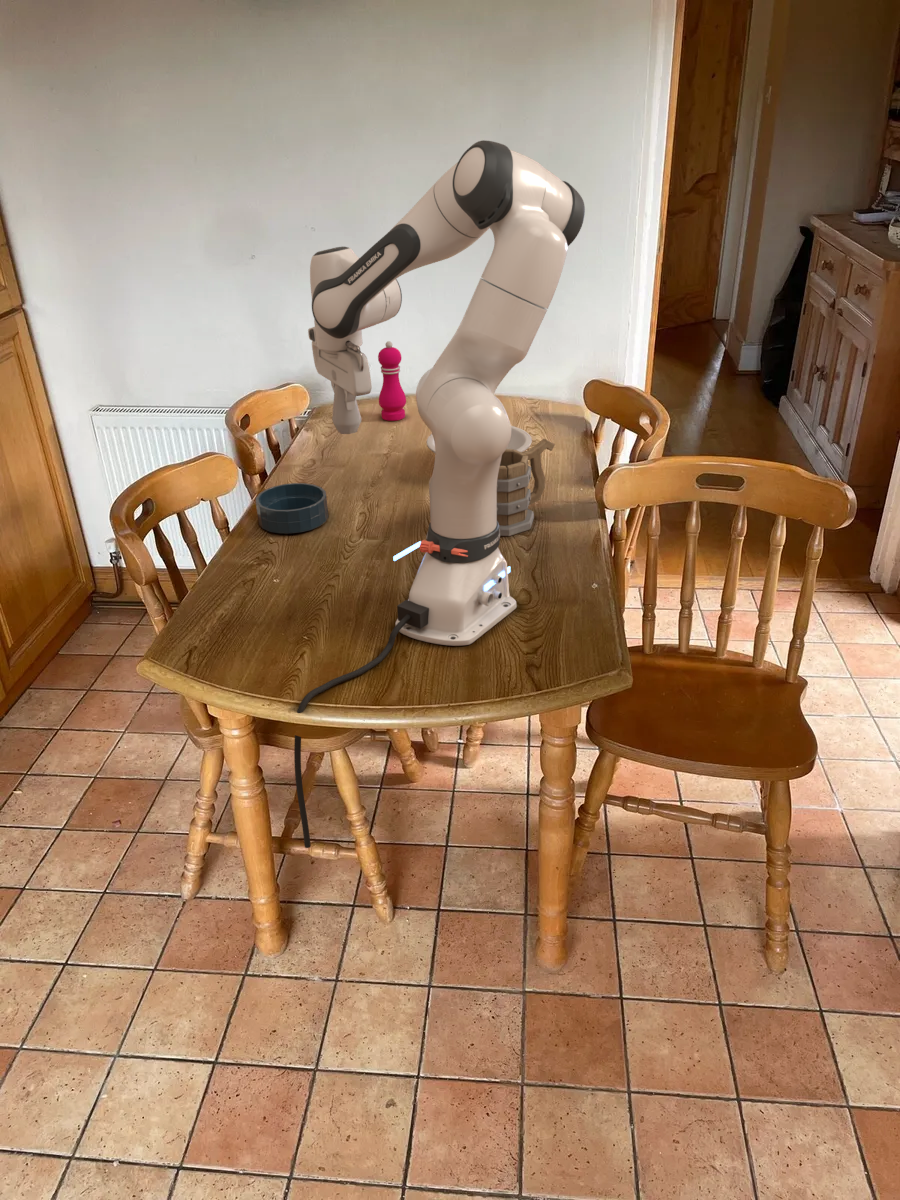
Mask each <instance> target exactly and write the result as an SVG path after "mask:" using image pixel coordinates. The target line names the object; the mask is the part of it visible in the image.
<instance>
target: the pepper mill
mask: <svg viewBox="0 0 900 1200" xmlns="http://www.w3.org/2000/svg"><path fill="white" fill-rule="evenodd" d="M384 344H385V347H384V348H382V349H380V350H379V352H378V355H377V359H378V363H379V364H380V373H381V374H382V386H381V389H380V392H379V395H378V405H379V406H380V408H381V409H382V410H381V419H382V420H384V421H388V422H389V421H390V422H395V421H400V420H404V419H405V418H406V409H404V408H405V406H406V405H407V395H406V394H405V391H404V389H403V388H402V385H401V382H400V372H401V366H400V363H401V362H402V352H401V351H400V350H399V349H398V348H396V347H394V346H393V342H391V341H389V340H388V341H386V342H385V343H384Z"/></svg>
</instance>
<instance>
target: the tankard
mask: <svg viewBox="0 0 900 1200" xmlns="http://www.w3.org/2000/svg"><path fill="white" fill-rule="evenodd" d="M555 445H556V443H555V442H553V441H550V440H549V439H546V438H542V439H541V440H540V441H539V442H537V444H535V445H534V446H532V447H531V448H530V449H529V450H525V451H523V452H519V451H517V450H514V449H506V450H505V451H504V453H503V454H502V458H501V462H500V467H499V472H498V478H497V521H498V523H499V529H500V537H511V536H514V535H517V534H520V533H523V532H527V531H530V530H531V528H532V526H533V522H534V518H535V512H534V511H533V510H531V509H529V506H530V505H532V504H535V503H537V502H538V501H541V499H542V496H543V493H544V491H545V489H546V476H545V473H544V469H543V467H542V454H543V452H544V451H546V450H548V451H550V452H552V451H553V449H554V447H555ZM529 463H530V465H529ZM532 477H533V480H534V483H533V484H534V485H533V488H532V491H531V489H530V488H529V484H530V482H531V481H530V480H531V478H532Z"/></svg>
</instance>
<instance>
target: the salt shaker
mask: <svg viewBox="0 0 900 1200" xmlns="http://www.w3.org/2000/svg"><path fill="white" fill-rule="evenodd" d="M331 374H332V378H333V380H335V381H336V372H335V371H334V370H332V373H331ZM345 396H346V394H345V393H344V389H343V388H341V387H339V386H338V385H336V384H335V391H333V405H332V417H331V418H332V423H333V425H334V427H335V429H336V431H337V432H338V433H339V434H340V435H353V434H355V433H357V432H358V431H359V428H360V425H361V423H362V416H361V413H360V407H359V405H358V401H357V398H356V399H355V409H354V410H347V409H346V407H345Z"/></svg>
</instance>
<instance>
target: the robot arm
mask: <svg viewBox="0 0 900 1200" xmlns="http://www.w3.org/2000/svg"><path fill="white" fill-rule="evenodd" d="M585 214H586V207H585V202H584V199H583V197H582V195H581V194H580V193H579V192H578V191H577V189H575V187H574V186H572V185H571V184H570V183H569V182H568V181H566V180H562V179H561V178H559V177H558V176H557V175H555V174H554V173H553V172H551V171H549V170H548V169H547V168H546V167H544V166H543V165H542V164H541V163H540V162H538V161H537V160H534V159H532V158H530V157H529V156H527V155H524V154H522V153H520V152H518V151H515V150H512V149H510V148H509V147H508V146H507V145H506V144H503V143H500V142H496V141H492V140H485V139H484V140H483V139H482V140H478V141H477V142H474V143H473V144H472V145H470V147H468V148H467V149H466V150H465V151H464V152H463V154H462V155H461V156H460V158H459V159H458V161H457V162H456V163H455V164H453V165H452V166H451V167H450V168H449V169H448V170H447V171H446V172H444V173H443V174H442V175H441V177H439V178H438V179H437V181H435V183H433V185H432V186H431V187H430V188H429V189H428V190H427V191H426V192H425V194H423V195H422V196H421V198H420V199H419V200H418V201H417V202H416V203H415V204H414V205H413V206H412V208H410V210H409V211H407V213H406V214H405V215H404V216H403V217H402V218H401V219H400V220H398V221H397V222H396V224H395V225H394V226H392V228H391V229H390V230H389V231H388V232H387V233H386V234H385V235H383V236H382V237H381V238H380V239H379V240H378V241H377V242H376V243H374V244H373V245H372V246H371V247H370V248H369V249H368V250H367V251H365V252H364V254H362V255H361V256H360V257H359V256H358V255H357V254H356V253H355V252H354V250H353V249H352V248H351V247H348V246H337V247H332V248H328V249H323V250H319V251H316V252H315V253H314V254H313V255H312V257H311V259H310V265H309V283H310V295H311V296H310V297H311V312H312V317H313V322H314V326H312V327H309V328H308V330H307V331H308V332H307V334H308V335H307V336H308V339H309V340H310V341H311V350H312V357H313V363H314V367H315V370H316V372H317V374H319V375H320V376H322V377H323V378H325V379H327V380H328V381H330V386H331V388H332V391H333V392H334V391H335V384H336V385H338V386H339V387H341V388H343V389H344V393H345V394H346V396H345V407H346V409H347V410H354V409H355V399H356V400H357V397H361V396H365V395H370V394H371V392H372V388H373V387H372V379H371V370H370V365H369V360H368V357H367V355H366V354H365V353H364V352H362V351H361V346H362V345H363V330H365V329H368V328H372V327H374V326H376V325H379V324H381V323H385V322H387V321H389V320H391V319H393V318H395V317H396V316H397V315H398V313H399V312H400V309H401V307H402V302H403V293H402V288H401V285H400V283H399V281H398V278H399V277H401V276H402V275H404V274H407V273H409V272H411V271H414V270H416V269H420V268H422V267H425V266H428V265H431V264H432V265H433V264H435V263H438V262H442V261H445V260H447V259H450V258H453V257H455V256H456V255H458V254H460V253H462V252H463V251H465V250H467V248H469V247H471V246H472V245H474V243H476V242H477V241H478V240H480V238H482V237H483V235H484V234H486V233H487V231H489V229H490V230H491V232H492V234H493V240H494V241H493V242H494V244H493V249H492V251H491V252H492V253H491V254H490V257H489V258H488V261H487V263H486V265H485V267H484V269H483V271H482V274H481V276H480V278H479V280H478V283H477V285H476V288H475V289H474V292H473V294H472V297H471V298H470V301H469V304H468V306H467V308H466V311H465V312H464V315H463V317H462V319H461V322H460V324H459V325H458V327H457V329H456V330H455V332H454V334H453V336H452V337H451V339H450V341H449V342H448V343H447V345H446V346H445V348H444V350H443V351H442V352H441V354H440V355H439V357H438V359H437V360H436V361H435V363H434V365H433V366H432V367H431V368H430V369H428V370H426V372H425V373H424V374H422V376H421V377H420V379H419V380H418V382H417V385H416V390H415V401H416V407H417V412H418V414H419V416H420V418H421V420H422V421H423V423H424V425H426V427H427V428H428V429H429V431H430V432H431V434H432V435H433V438H434V442H435V453H434V463H433V470H432V475H431V477H430V478H429V481H428V495H429V516H430V517H429V518H430V519H429V520H430V522H429V524H428V528H427V532H426V537H425V538H426V539H422V540H420V541H418V542H415V543H414V544H413V545H411V546H409V547H407V548H405V549H404V550H402V551H401V552H399V553H396V555H394V556H393V557H392V558H393V561H394V562H396V561H397V560H399V559H401V558H403V557H405V556H406V555H408V554H409V553H411V552H413V551H414V550H416V549H418V548H419V552H420V553H424V555H423V557H422V559H421V563H420V565H419V567H418V569H417V572H416V574H415V576H414V580H413V582H412V584H411V587H410V590H409V592H408V593H409V594H408V599H405V600H403V601H402V602H400V603H399V604H397V605H396V611H397V619H396V621H395V624H394V627H393V628H392V630H391V632H390V634H389V636H388V641H387V644H386V645H385V647H384V648H383V650H382V651H381V652H380V654H378V656H376V657H375V658H374V659H373V660H371V661H369V662H367V663H366V664H364V665H363V666H361V667H359V668H357V669H355V670H353V671H351V672H347V673H346V674H345V673H344V674H343V675H340V676H338V677H335V678H333V679H331V680H329V681H327V682H325V683H323V684H321V685H320V686H318V687H316V688H313V689H311V690H310V691H309V692H307V694H306V695H305V696H304V697H303V698H302V700H301V701H300V703H299V705H298V707H297V710H296V713H297V714H302V713H304V712H305V710H306V708H307V706H308V705H309V703H310V701H311V700H312V699H313V698H314V697H315V696H318V695H320V694H321V693H323V692H325V691H327V690H329V689H331V688H332V687H335V686H337V685H339V684H341V683H345V682H346V681H349V680H352V679H354V678H356V677H359V676H361V675H363V674H364V673H366V672H368V671H369V670H371V669H373V668H374V667H376V666H377V665H379V664H380V663H381V662H382V661H383V660H384V659H385V658H386V657H387V656H388V655H389V653H390V652H391V650H392V649H393V647H394V644H395V642H396V638H397V635H398V634H399V633H400V634H402V635H404V636H405V637H409V638H412V639H413V640H414V639H415V640H418V641H421V642H425V643H431V644H434V645H441V646H455V647H457V646H458V647H459V646H470V645H471V644H473V643H474V642H475V641H477V640H478V639H480V637H482V636H483V635H484V634H485V633H487V632H488V631H490V630H491V629H492V628H493V627H495V625H497V624H498V623H500V622H501V621H503V619H504V618H506V617H507V616H509V615H510V614H511V613H512V612H513V611H514V610H516V609H517V606H518V605H517V601H516V599H515V598H514V597H512V596H511V595H510V584H509V574H510V573H511V566H508V562H507V560H506V559H505V557H504V555H503V554H502V552H501V550H500V548H499V547H500V543H501V542H500V541H501V536H500V529H499V523H498V521H497V478H498V472H499V467H500V462H501V458H502V454H503V453H504V451H505V450H506V448H507V447H508V444H509V442H510V439H511V426H512V424H511V421H510V418H509V415H508V412H507V410H506V408H505V406H504V404H503V402H502V401H501V400H500V399H499V398H498V397H497V396H496V395H495V393H496V391H497V389H498V387H499V385H500V384H501V383H502V381H503V380H504V378H505V377H506V376H507V374H508V373H509V372H510V371H511V370H512V369H513V368H514V367H515V366H516V365H517V364H520V363H521V362H522V361H524V359H526V357H527V355H528V353H529V351H530V349H531V346H532V344H533V342H534V340H535V337H536V336H537V333H538V331H539V329H540V327H541V325H542V323H543V320H544V318H545V316H546V314H547V311H548V309H549V307H550V305H551V303H552V300H553V298H554V296H555V293H556V291H557V288H558V285H559V283H560V279H561V276H562V274H563V273H562V272H563V269H564V265H565V262H566V259H567V254H568V247H569V246H571V244H572V243H573V242H574V241H575V239H576V238H577V236H578V235H579V233H580V232H581V230H582V227H583V223H584V220H585ZM332 370H334V371H335V372H336V381H335V380H333V378H332V374H331V373H332ZM293 747H294V749H293V750H294V753H293V754H294V755H293V757H294V760H293V761H294V778H295V788H296V795H297V801H298V809H299V814H300V821H301V827H302V828H301V829H302V835H303V843H304V848H305V849H309V848H311V847H312V846H311V837H310V829H309V821H308V815H307V808H306V801H305V794H304V786H303V775H302V736H299V735H295V734H294V746H293Z"/></svg>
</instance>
